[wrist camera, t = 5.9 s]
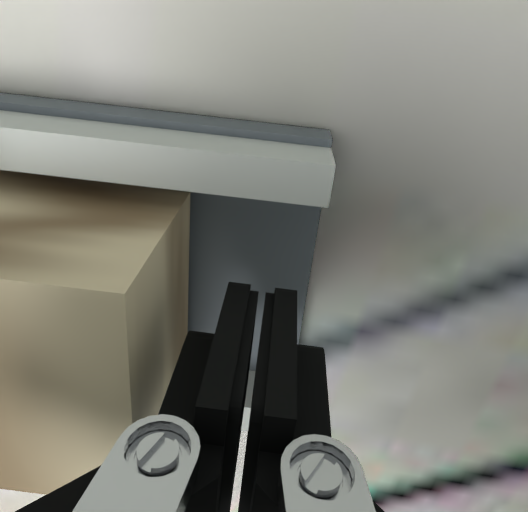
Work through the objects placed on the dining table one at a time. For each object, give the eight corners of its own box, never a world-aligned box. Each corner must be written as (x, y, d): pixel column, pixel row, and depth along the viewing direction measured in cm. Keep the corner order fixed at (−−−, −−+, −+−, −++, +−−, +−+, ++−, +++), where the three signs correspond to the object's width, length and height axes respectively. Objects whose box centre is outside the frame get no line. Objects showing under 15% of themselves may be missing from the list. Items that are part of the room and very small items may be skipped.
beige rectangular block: (191, 134, 11) (103, 225, 6) (186, 391, 15) (130, 572, 10) (-47, 107, 11) (-325, 174, 6) (10, 370, 15) (-130, 538, 10)
